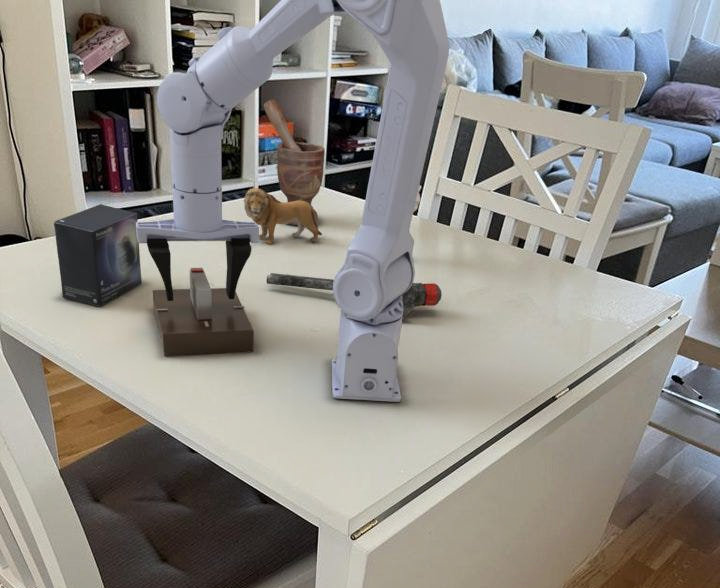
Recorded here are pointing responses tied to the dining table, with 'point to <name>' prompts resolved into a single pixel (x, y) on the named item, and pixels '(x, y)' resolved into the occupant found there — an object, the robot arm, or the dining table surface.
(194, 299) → the tap handle
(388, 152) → the robot arm
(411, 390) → the dining table surface
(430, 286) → the grey and red tool
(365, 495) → the dining table surface
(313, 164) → the mortar and pestle
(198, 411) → the dining table surface
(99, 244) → the small box
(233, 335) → the block
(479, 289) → the dining table surface
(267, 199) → the lion figurine
